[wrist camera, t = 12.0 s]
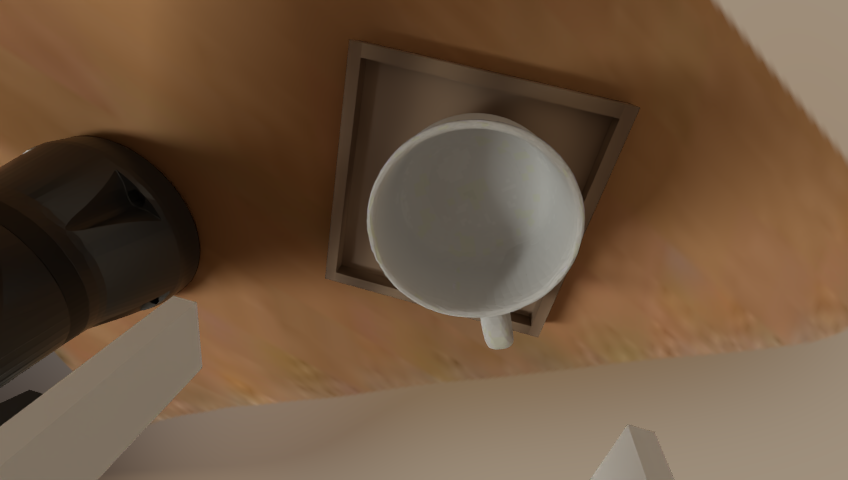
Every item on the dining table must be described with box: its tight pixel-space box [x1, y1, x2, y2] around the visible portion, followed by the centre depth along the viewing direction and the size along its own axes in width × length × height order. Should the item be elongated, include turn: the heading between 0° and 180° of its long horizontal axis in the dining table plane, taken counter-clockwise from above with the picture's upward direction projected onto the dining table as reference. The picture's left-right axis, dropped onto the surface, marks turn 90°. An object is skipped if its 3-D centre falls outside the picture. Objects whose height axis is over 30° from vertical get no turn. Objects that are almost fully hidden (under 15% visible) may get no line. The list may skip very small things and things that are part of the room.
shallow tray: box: [325, 40, 640, 337], centre depth 27 cm, size 17×17×2 cm
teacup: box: [367, 113, 585, 349], centre depth 23 cm, size 14×11×8 cm
